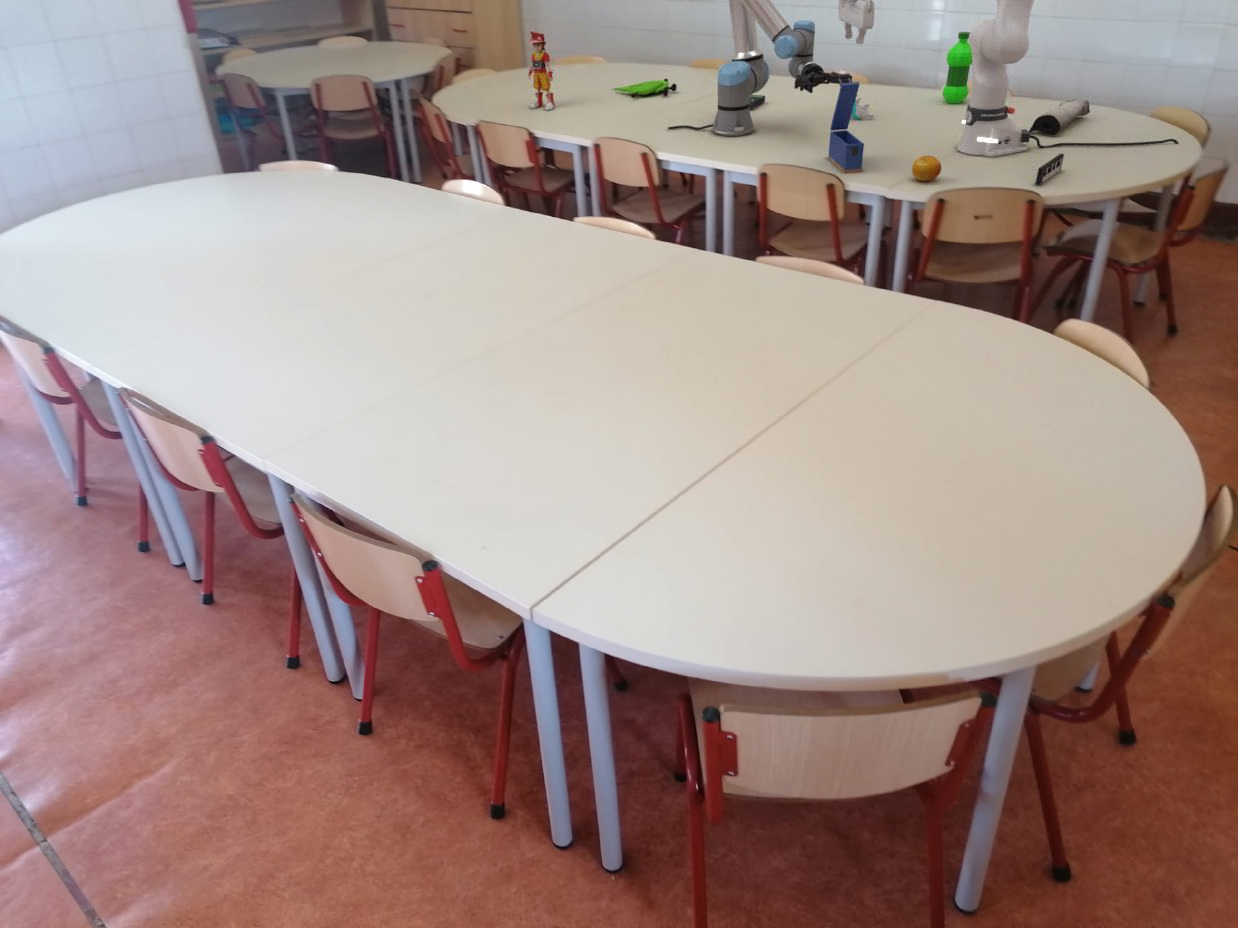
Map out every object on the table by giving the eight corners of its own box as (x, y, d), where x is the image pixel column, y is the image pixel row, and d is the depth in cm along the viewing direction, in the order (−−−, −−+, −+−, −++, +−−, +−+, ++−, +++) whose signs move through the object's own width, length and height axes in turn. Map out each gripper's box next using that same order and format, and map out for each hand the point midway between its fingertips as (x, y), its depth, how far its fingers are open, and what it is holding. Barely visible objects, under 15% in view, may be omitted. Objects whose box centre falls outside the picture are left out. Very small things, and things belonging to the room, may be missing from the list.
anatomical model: (836, 88, 347) (861, 81, 346) (838, 115, 353) (863, 108, 352) (847, 98, 335) (873, 90, 334) (849, 125, 341) (875, 118, 340)
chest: (861, 171, 290) (864, 143, 285) (844, 173, 289) (846, 145, 284) (844, 156, 303) (846, 130, 298) (828, 158, 303) (830, 131, 298)
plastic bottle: (973, 101, 354) (984, 32, 339) (955, 106, 349) (966, 36, 335) (952, 97, 361) (962, 29, 346) (934, 102, 356) (944, 33, 342)
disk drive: (750, 111, 360) (765, 102, 370) (750, 104, 358) (765, 95, 368) (726, 109, 364) (742, 100, 375) (726, 102, 363) (742, 93, 373)
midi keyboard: (1039, 185, 269) (1043, 168, 266) (1035, 184, 270) (1038, 168, 267) (1060, 170, 279) (1064, 154, 277) (1056, 169, 280) (1060, 153, 277)
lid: (859, 84, 283) (852, 67, 287) (842, 85, 282) (835, 68, 287) (847, 129, 298) (840, 112, 302) (830, 131, 297) (824, 114, 302)
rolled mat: (1057, 104, 331) (1081, 87, 323) (1070, 125, 332) (1095, 108, 324) (1024, 126, 314) (1049, 109, 306) (1039, 148, 314) (1064, 131, 306)
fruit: (905, 171, 275) (922, 148, 272) (907, 173, 283) (923, 151, 280) (928, 186, 274) (945, 163, 271) (929, 188, 282) (946, 166, 279)
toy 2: (686, 85, 398) (631, 84, 414) (685, 72, 395) (629, 72, 411) (651, 104, 381) (596, 103, 397) (650, 92, 378) (594, 91, 394)
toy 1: (525, 109, 381) (517, 32, 364) (534, 104, 388) (527, 28, 371) (550, 110, 377) (543, 32, 360) (559, 105, 384) (553, 28, 367)
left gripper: (843, 82, 320) (865, 95, 303) (775, 88, 318) (794, 102, 300) (845, 60, 316) (868, 71, 299) (776, 66, 314) (795, 78, 296)
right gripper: (882, -6, 261) (876, 46, 269) (856, -14, 277) (851, 35, 285) (861, -4, 260) (856, 48, 268) (836, -13, 277) (832, 36, 285)
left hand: (831, 87), depth 299 cm, fingers open, 13 cm apart
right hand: (853, 41), depth 277 cm, fingers open, 8 cm apart
